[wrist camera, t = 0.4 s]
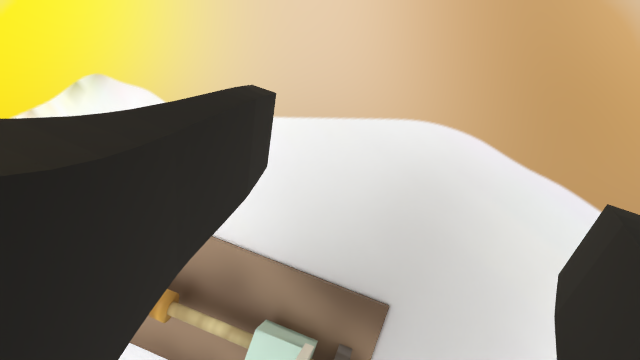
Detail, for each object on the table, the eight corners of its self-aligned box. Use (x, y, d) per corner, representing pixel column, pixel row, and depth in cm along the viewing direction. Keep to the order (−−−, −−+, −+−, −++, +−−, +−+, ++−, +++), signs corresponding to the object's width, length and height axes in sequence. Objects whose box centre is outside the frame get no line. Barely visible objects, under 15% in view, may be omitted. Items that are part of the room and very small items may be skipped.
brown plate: (344, 430, 35) (336, 474, 29) (115, 329, 38) (66, 351, 33) (388, 305, 36) (389, 323, 30) (157, 215, 39) (116, 214, 33)
